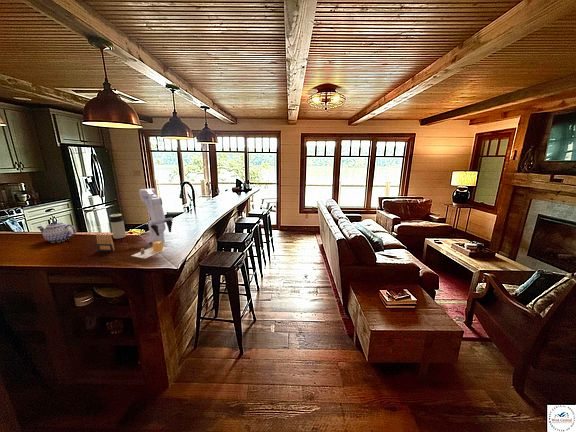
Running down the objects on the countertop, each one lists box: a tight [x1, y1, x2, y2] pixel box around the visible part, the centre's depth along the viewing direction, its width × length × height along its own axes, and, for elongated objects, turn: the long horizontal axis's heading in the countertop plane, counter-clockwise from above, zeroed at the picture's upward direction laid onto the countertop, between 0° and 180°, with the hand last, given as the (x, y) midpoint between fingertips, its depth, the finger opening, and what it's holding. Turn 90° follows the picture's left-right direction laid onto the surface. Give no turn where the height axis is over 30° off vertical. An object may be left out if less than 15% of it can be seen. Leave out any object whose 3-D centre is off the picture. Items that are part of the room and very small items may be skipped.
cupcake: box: [151, 241, 164, 252], centre depth 151 cm, size 6×6×5 cm
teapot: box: [36, 220, 77, 244], centre depth 168 cm, size 25×15×15 cm, turn 93°
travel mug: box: [109, 213, 127, 240], centre depth 176 cm, size 8×8×18 cm
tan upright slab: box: [96, 233, 116, 253], centre depth 151 cm, size 11×2×12 cm, turn 87°
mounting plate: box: [131, 246, 168, 259], centre depth 148 cm, size 12×18×5 cm, turn 162°
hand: (164, 233), depth 149 cm, fingers open, 7 cm apart
